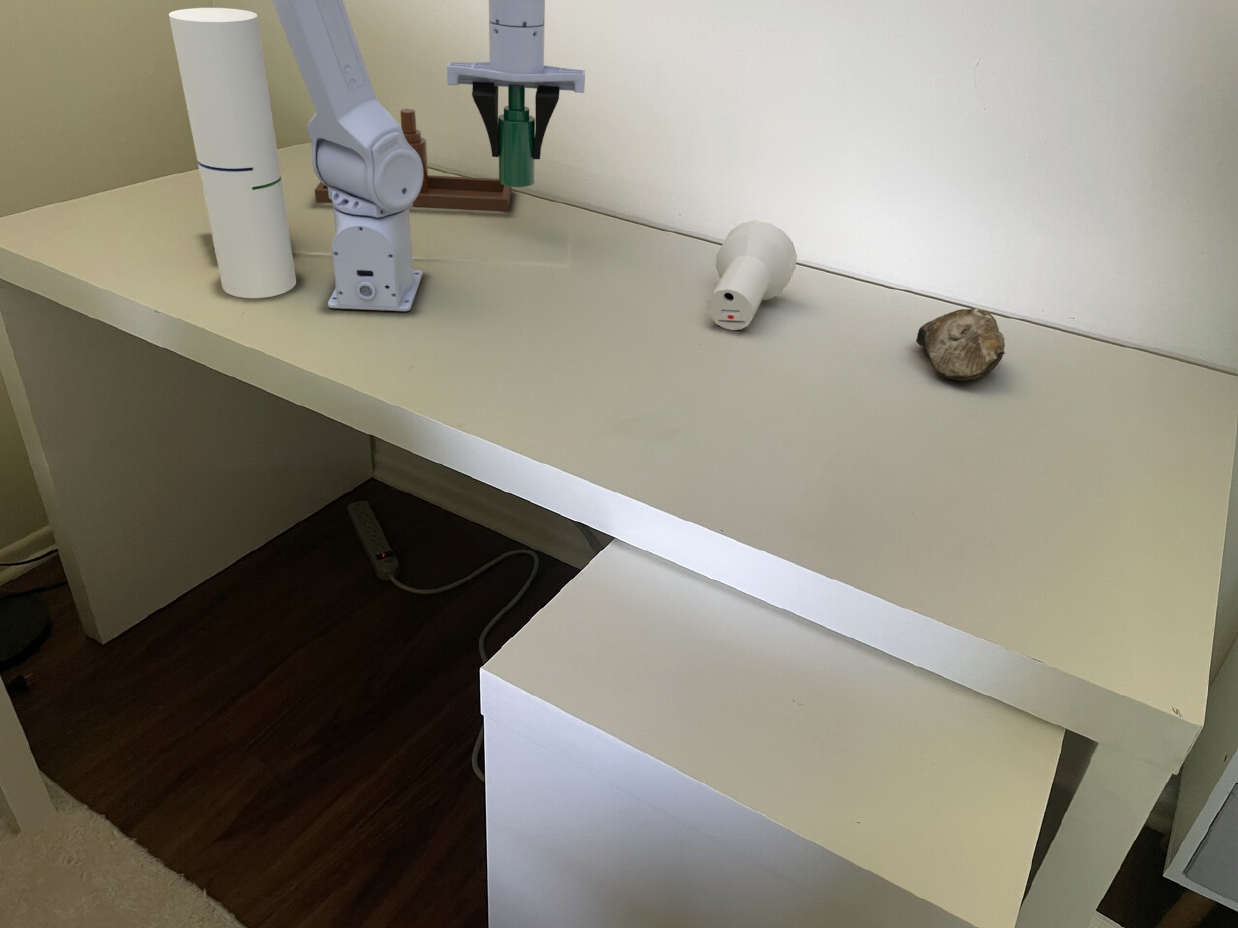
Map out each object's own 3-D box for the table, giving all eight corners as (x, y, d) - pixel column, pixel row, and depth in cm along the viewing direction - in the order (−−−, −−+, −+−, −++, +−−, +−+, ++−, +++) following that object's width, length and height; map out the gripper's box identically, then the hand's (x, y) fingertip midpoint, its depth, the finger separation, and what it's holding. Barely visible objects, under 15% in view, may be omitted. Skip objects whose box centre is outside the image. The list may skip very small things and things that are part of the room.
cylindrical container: (218, 274, 94) (166, 8, 80) (290, 266, 97) (251, 8, 83) (226, 302, 89) (171, 22, 75) (301, 293, 92) (262, 22, 78)
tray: (507, 215, 115) (507, 199, 113) (316, 205, 113) (314, 190, 112) (511, 194, 121) (511, 179, 120) (330, 185, 120) (329, 170, 118)
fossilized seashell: (1018, 376, 82) (1005, 346, 90) (996, 308, 80) (985, 284, 89) (933, 403, 85) (929, 371, 93) (910, 338, 83) (908, 311, 92)
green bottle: (533, 188, 102) (534, 89, 96) (497, 186, 102) (496, 87, 96) (535, 177, 105) (536, 81, 99) (500, 175, 105) (499, 78, 99)
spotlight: (800, 286, 98) (795, 218, 93) (772, 347, 91) (765, 277, 85) (729, 283, 101) (720, 217, 96) (696, 342, 94) (685, 274, 89)
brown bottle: (426, 202, 115) (422, 115, 109) (394, 200, 115) (388, 113, 109) (431, 191, 119) (426, 107, 113) (399, 190, 118) (393, 105, 112)
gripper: (586, 20, 98) (581, 149, 106) (450, 12, 97) (455, 142, 105) (586, 32, 92) (581, 167, 100) (442, 23, 91) (448, 160, 99)
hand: (516, 155), depth 102 cm, fingers closed on green bottle, 4 cm apart
